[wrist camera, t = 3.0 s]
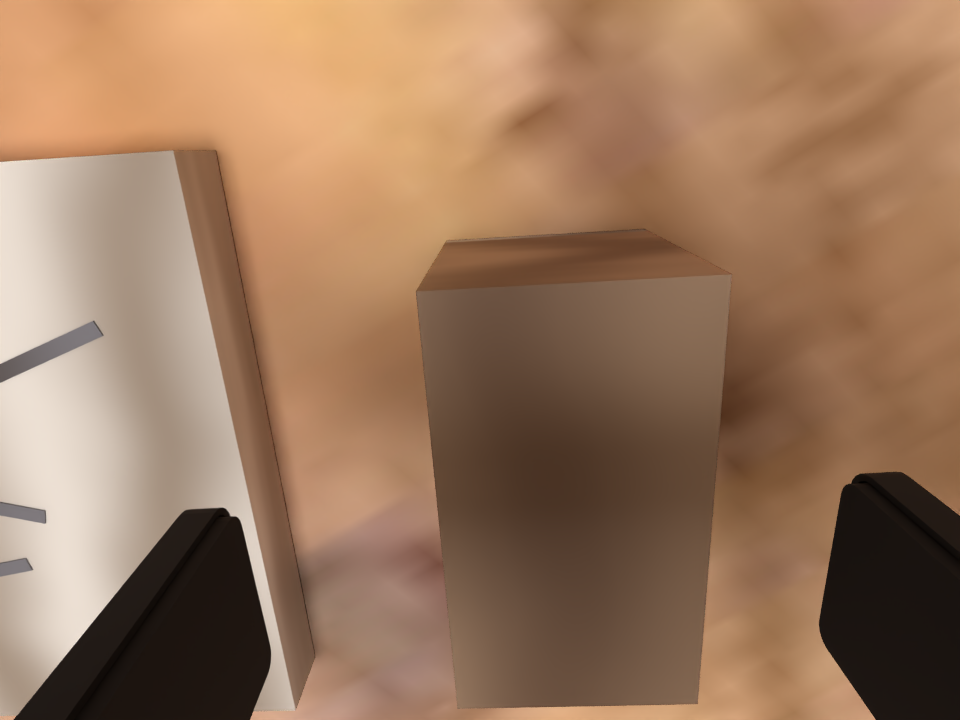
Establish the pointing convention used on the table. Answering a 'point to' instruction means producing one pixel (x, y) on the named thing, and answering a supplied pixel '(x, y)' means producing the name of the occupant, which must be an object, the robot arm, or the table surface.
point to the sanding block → (574, 463)
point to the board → (127, 403)
